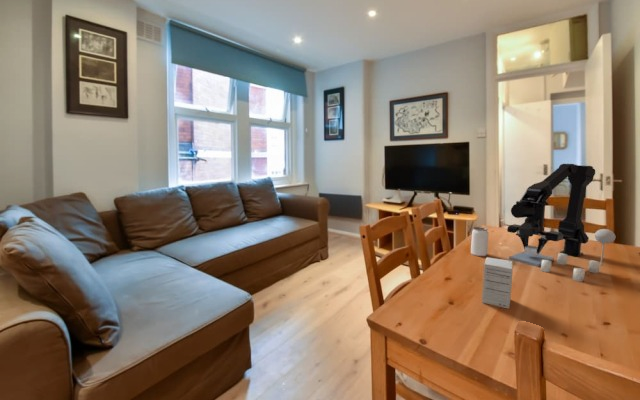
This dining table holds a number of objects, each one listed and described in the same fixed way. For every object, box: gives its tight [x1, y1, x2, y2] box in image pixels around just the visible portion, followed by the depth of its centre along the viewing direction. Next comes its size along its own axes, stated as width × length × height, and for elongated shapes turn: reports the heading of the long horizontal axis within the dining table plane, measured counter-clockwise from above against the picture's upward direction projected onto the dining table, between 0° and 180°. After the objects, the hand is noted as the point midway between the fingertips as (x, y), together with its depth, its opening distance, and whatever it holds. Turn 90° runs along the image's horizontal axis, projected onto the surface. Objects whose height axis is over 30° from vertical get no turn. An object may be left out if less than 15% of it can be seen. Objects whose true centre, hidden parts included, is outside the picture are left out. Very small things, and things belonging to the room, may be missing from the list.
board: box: [508, 250, 555, 267], centre depth 125 cm, size 14×11×1 cm
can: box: [470, 226, 489, 257], centre depth 132 cm, size 6×6×12 cm
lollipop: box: [593, 228, 616, 266], centre depth 117 cm, size 6×6×15 cm
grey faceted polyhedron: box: [523, 245, 540, 256], centre depth 125 cm, size 5×4×3 cm
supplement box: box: [481, 256, 514, 309], centre depth 90 cm, size 7×7×13 cm
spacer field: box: [540, 252, 601, 283], centre depth 112 cm, size 17×13×4 cm
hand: (532, 251), depth 125 cm, fingers closed on grey faceted polyhedron, 4 cm apart
